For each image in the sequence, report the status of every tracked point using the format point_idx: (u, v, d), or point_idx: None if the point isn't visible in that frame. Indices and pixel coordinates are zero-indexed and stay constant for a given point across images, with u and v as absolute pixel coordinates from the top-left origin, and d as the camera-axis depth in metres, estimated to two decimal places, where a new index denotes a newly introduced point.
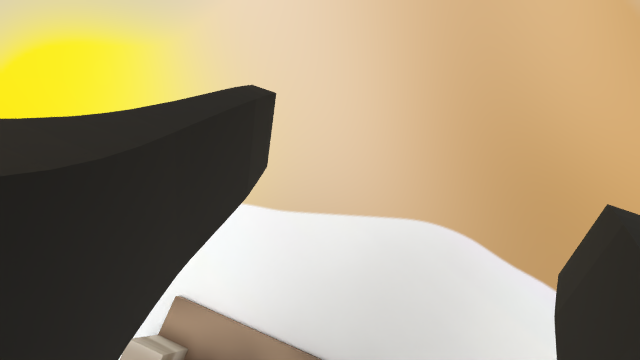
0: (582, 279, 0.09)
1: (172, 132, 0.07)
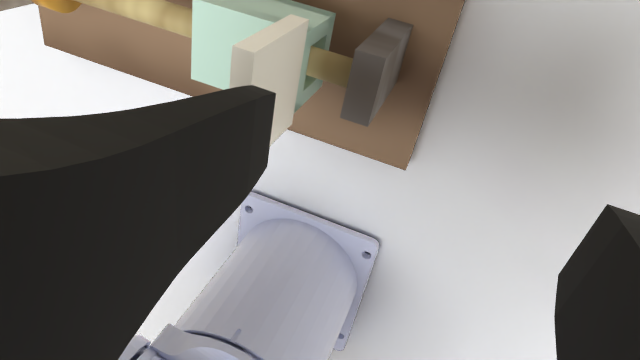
0: (582, 279, 0.09)
1: (172, 132, 0.07)
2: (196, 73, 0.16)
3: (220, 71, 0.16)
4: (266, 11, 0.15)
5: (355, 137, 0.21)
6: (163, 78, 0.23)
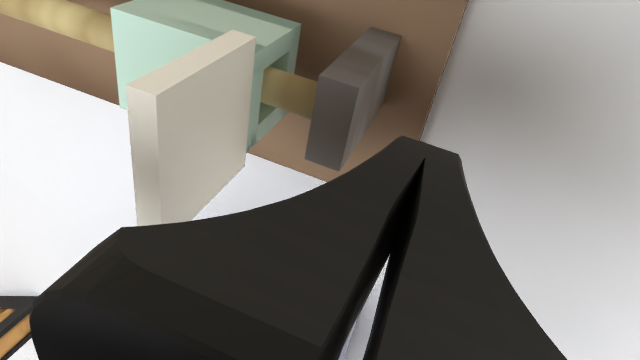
0: (404, 213, 0.10)
1: (387, 212, 0.07)
2: (125, 101, 0.13)
3: None
4: (207, 24, 0.12)
5: None
6: (113, 94, 0.20)
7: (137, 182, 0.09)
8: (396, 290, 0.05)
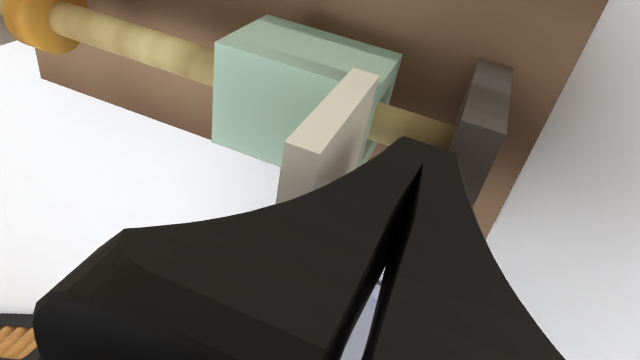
0: None
1: (389, 213, 0.07)
2: (218, 135, 0.12)
3: (251, 135, 0.12)
4: (314, 58, 0.11)
5: None
6: (183, 121, 0.19)
7: None
8: (394, 289, 0.05)
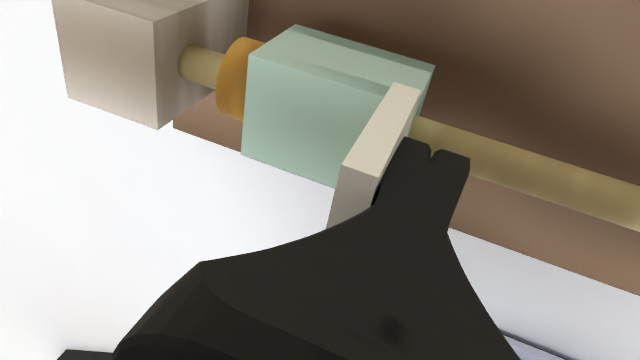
0: None
1: (445, 234, 0.06)
2: (248, 148, 0.12)
3: (282, 148, 0.12)
4: (349, 70, 0.11)
5: (621, 270, 0.16)
6: None
7: None
8: (339, 267, 0.05)
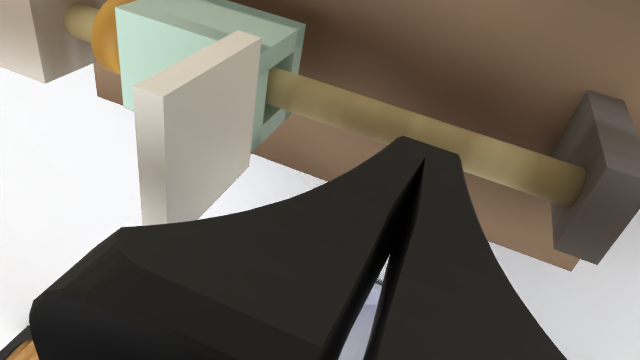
0: (404, 213, 0.10)
1: (387, 212, 0.07)
2: (129, 101, 0.13)
3: None
4: (212, 24, 0.12)
5: (505, 228, 0.16)
6: None
7: (143, 183, 0.09)
8: (396, 290, 0.05)
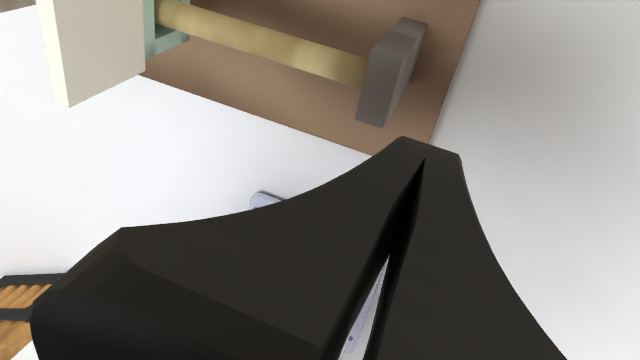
0: (405, 213, 0.10)
1: (387, 212, 0.07)
2: None
3: None
4: None
5: (366, 138, 0.21)
6: (171, 78, 0.23)
7: (47, 53, 0.13)
8: (396, 290, 0.05)
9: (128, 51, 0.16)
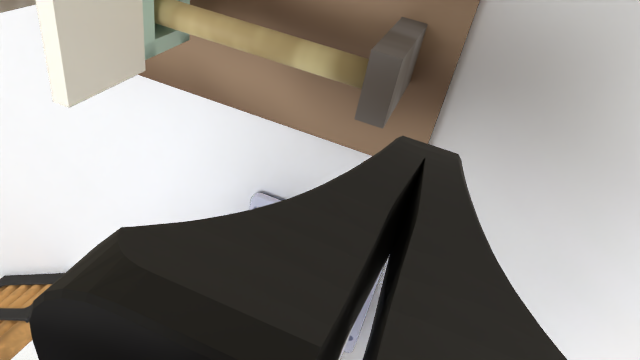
0: (405, 213, 0.10)
1: (387, 212, 0.07)
2: None
3: None
4: None
5: (366, 138, 0.21)
6: (171, 78, 0.23)
7: (47, 53, 0.13)
8: (396, 290, 0.05)
9: (128, 51, 0.16)
